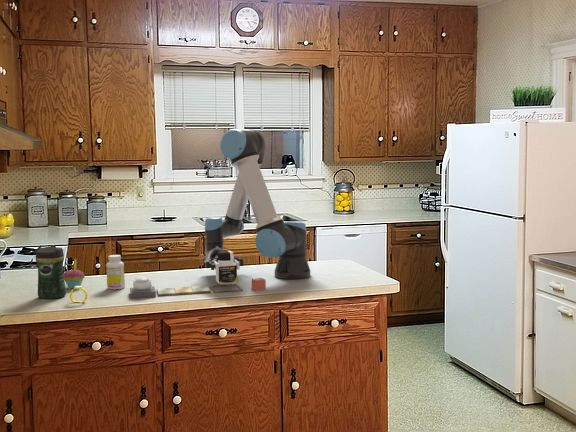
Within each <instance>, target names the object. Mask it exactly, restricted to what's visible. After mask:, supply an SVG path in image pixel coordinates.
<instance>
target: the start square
mask: <svg viewBox="0 0 576 432" xmlns="http://www.w3.org/2000/svg"><path fill="white" fill-rule="evenodd" d="M231 286H232V287H233V286H236V287H237V288H238V289H232V290H231V289H230V290H215V289H214V288H218V287H219V288H220V287H231ZM209 287H210V290H212V292H213V293H214V294H216V293H218V294H219V293H231V292H233V293H234V292H243V288H241V286H240V285H239V284H238V283H229V284H217V285H210V286H209Z"/></svg>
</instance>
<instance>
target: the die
mask: <svg viewBox="0 0 576 432" xmlns="http://www.w3.org/2000/svg"><path fill="white" fill-rule="evenodd" d="M266 281H267V279H265V278H263V277H253V278H251V289H252V290H254V291H264V290H265V291H266V290H267V289H266V288H267V284H266Z"/></svg>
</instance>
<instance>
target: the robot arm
mask: <svg viewBox="0 0 576 432" xmlns="http://www.w3.org/2000/svg"><path fill="white" fill-rule="evenodd" d="M219 146H220V147H219V148H220V151H221V153H222V154H223V156H224V158H225V157H226V158H227V159H229V160H230V164H231V165H232V167H233V168H235V169H236V170H237V172H238V173H237V177H236V180H235V183H234V185H233V190H232V192H231V193H232V194H231V196H230V201H229V204H228V205H227V206H228V207H227V210H226V213H225V216H224V219H223V218H222V217H221V216H210V217H206V218H205V220H204V234H205V235H204V237H205V251H204V256H205V257H204V259H203V261H204V262H203V263H204V265H205V268H206V269H210V271H215V272H216V271H219V264H218V263H219V262H218V252H220V251H225V248H224V238H228V237H232V236H233V237H234V236H237V235H239V234H242V232H243V231H244V229H245V224H244V220H243V217H244V215H245V211H246V208H247V205H248V201H249V204H250V206H251V210H252V212H253V215H254V217H255V218H254V219H255V221H256V223H257V224H256V227H255V231H256V236H255V240H254V241H255V243H254V244H255V247H256V249H257V252H258V253H260V254H261V255H262V256H264V257H266V258H269V259H270V258H278V259H277V262H276V265H275V268H274V277H275V278H278V279H283V280H301V279H307V278H310V277H311V269H310V265H309V262H308V259H307V224H306V223H305V222H302V221H301V222H300V221H286V220H285V221H284V219H283V218H281V217H279V216H278V214H277V211H276V209H275V206H274V203H273V200H272V198H271V195H270V193H269V189H268V187H267V184H266V181H265V178H264V176H263V173H262V171H261V168H260V167H261V166H262V165H263V162H264V159H265V154H266V146H267V144H266V140H265V137H264V135H263V134H262V133H261V132H260V131H258V130H256V129H251V128H247V129H246V128H245V129H244V128H243V129H242V128H234V129H229V130H227V131H226V132H225V133H224V134H223V135H222V138H221V140H220V145H219ZM233 257H234V261H233V262H234V263H235V264H236V265H237V271H240V269H241V267H243V266H244V259H243V258H241V257H239V256H238V255H234V256H233Z"/></svg>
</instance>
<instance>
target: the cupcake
mask: <svg viewBox="0 0 576 432" xmlns="http://www.w3.org/2000/svg"><path fill="white" fill-rule="evenodd" d="M73 267H74V268H73V269H68V270H67V271H63V274H64V281H65V285H66V288H68V289H69V288H74V287H75V286H82V283H83V281H84V279H85V277H86V276H85V273H84V272H83V271H82V270H80V269H77V259H74V266H73Z"/></svg>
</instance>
